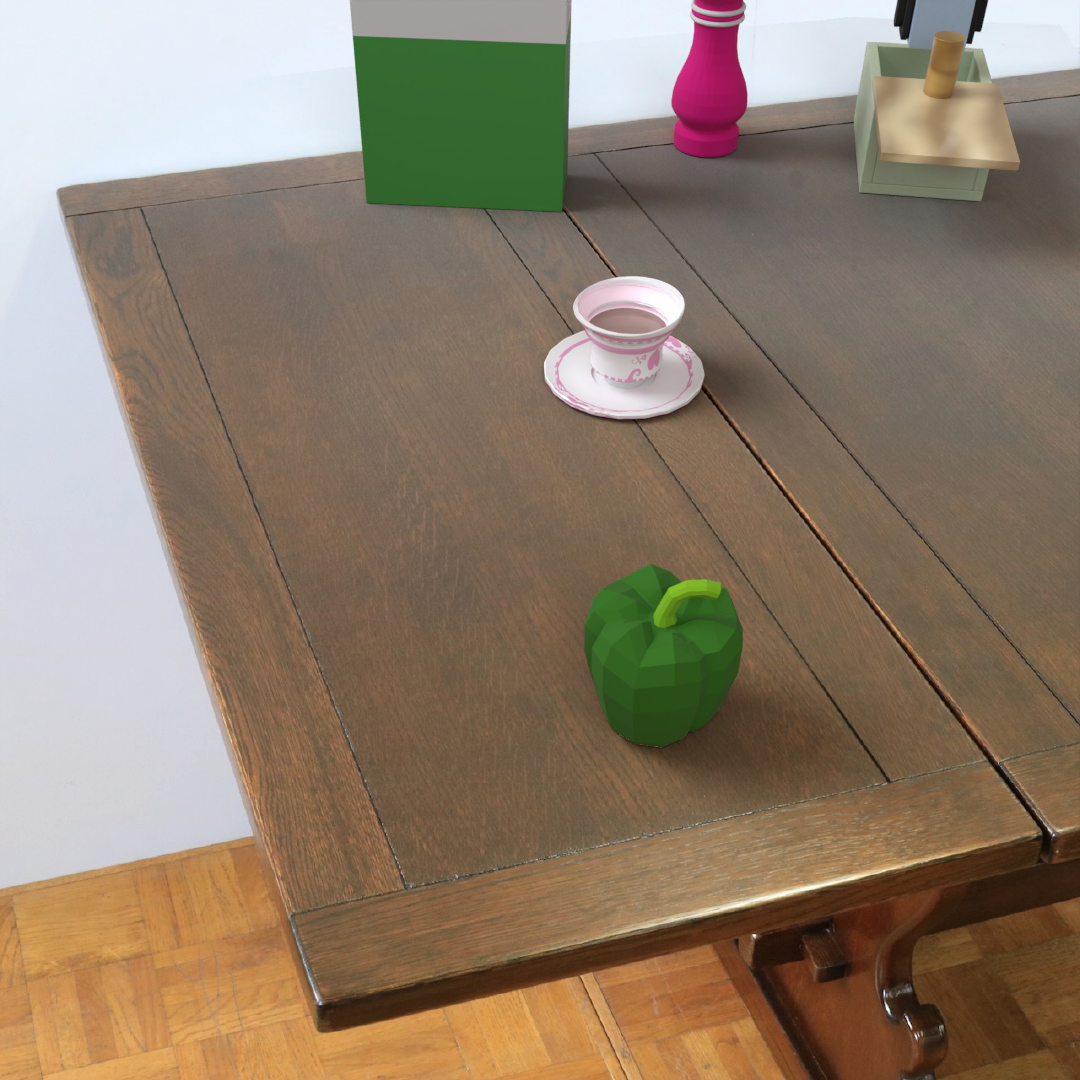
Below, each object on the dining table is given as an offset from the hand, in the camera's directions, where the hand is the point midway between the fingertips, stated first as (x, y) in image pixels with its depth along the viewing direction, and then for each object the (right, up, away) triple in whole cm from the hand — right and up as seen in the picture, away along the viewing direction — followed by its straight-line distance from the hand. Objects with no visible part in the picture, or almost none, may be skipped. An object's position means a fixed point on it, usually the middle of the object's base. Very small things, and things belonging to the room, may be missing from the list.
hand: (935, 34), depth 122 cm
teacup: (-30, -34, -23) cm, 51 cm away
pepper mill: (-20, -8, +7) cm, 23 cm away
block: (0, 0, 0) cm, 0 cm away
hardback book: (-43, -14, 0) cm, 45 cm away
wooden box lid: (-2, -11, -8) cm, 14 cm away
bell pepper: (-30, -56, -48) cm, 80 cm away
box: (0, -10, +5) cm, 11 cm away
